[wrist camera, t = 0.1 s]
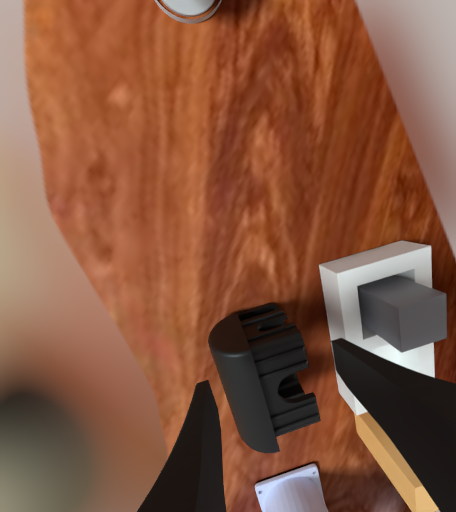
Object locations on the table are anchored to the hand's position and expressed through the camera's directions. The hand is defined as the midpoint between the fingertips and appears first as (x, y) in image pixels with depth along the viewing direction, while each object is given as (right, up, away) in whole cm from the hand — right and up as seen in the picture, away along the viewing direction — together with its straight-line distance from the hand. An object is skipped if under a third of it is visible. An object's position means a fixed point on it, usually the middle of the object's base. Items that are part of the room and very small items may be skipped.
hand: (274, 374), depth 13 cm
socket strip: (+13, -1, +12) cm, 18 cm away
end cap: (0, -3, +11) cm, 12 cm away
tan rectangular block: (+15, -13, +15) cm, 25 cm away
